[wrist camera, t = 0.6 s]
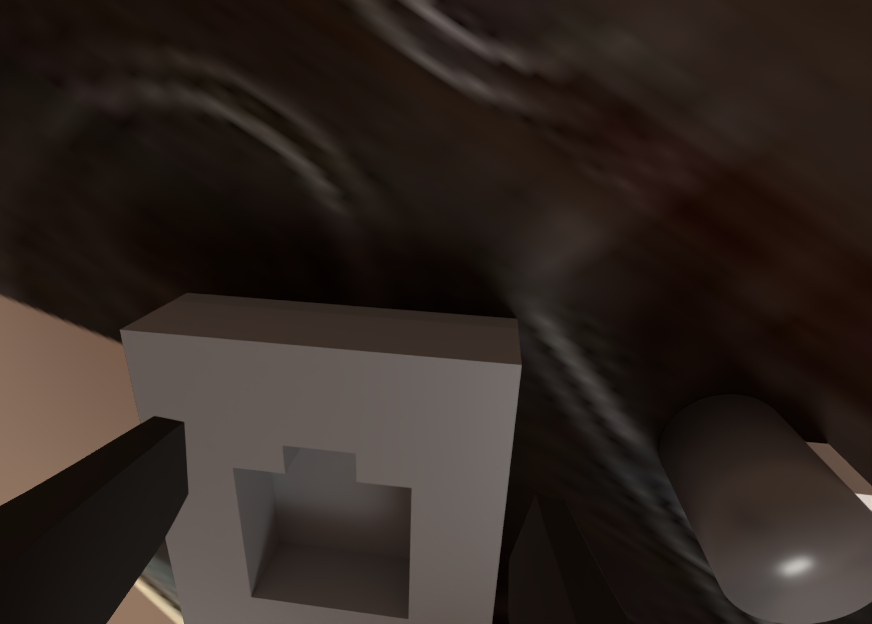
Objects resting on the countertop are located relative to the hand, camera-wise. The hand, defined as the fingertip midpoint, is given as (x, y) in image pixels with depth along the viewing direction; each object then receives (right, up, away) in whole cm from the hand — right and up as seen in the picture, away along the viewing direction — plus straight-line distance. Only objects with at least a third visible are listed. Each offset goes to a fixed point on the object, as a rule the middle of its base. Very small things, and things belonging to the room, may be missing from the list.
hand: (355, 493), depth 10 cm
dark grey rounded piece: (+14, -2, +10) cm, 17 cm away
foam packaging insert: (-2, -4, +13) cm, 14 cm away
